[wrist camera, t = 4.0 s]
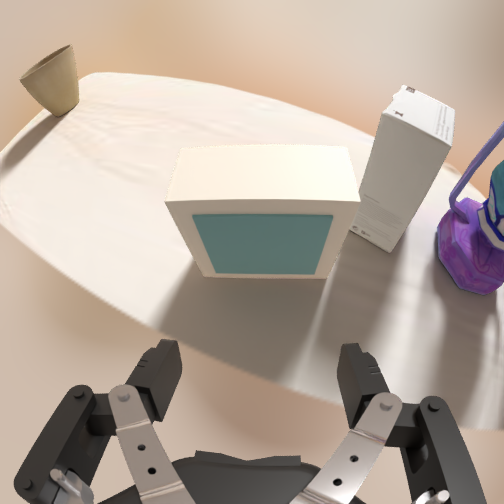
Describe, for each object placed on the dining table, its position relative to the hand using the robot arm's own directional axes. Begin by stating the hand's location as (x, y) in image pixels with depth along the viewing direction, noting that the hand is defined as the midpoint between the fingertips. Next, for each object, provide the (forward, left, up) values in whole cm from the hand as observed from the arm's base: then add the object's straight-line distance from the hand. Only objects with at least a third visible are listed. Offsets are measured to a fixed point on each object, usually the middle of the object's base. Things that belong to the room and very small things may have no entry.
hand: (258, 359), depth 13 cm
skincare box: (-13, -17, -11) cm, 24 cm away
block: (0, -11, -11) cm, 16 cm away
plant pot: (+50, -53, -11) cm, 73 cm away
